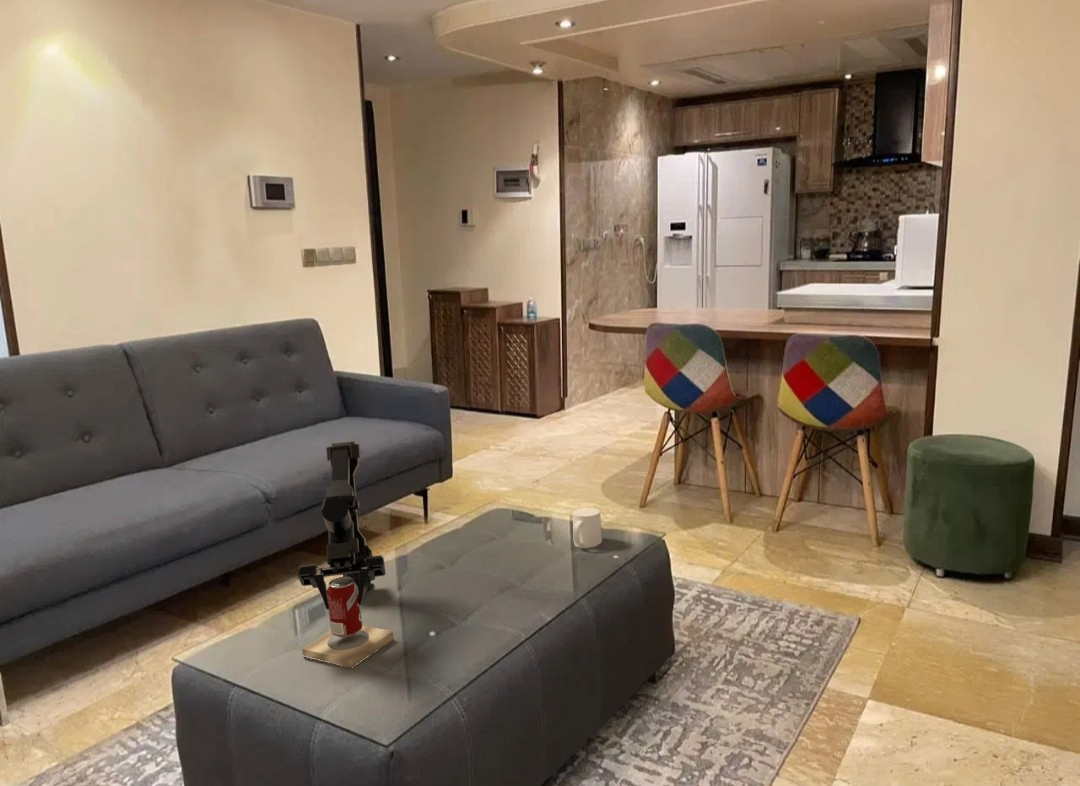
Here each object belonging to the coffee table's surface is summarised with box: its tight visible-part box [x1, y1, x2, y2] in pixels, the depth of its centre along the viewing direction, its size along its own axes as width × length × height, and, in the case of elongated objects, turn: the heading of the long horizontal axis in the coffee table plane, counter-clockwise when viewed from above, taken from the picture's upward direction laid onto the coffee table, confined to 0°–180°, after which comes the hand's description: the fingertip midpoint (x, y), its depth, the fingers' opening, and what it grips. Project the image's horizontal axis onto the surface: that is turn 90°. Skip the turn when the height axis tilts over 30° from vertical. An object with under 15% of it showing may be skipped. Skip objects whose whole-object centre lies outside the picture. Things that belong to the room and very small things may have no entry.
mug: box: [572, 507, 603, 549], centre depth 233 cm, size 12×9×8 cm
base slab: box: [301, 624, 395, 669], centre depth 179 cm, size 14×14×2 cm
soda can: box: [327, 576, 363, 638], centre depth 178 cm, size 7×7×12 cm
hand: (343, 606), depth 177 cm, fingers closed on soda can, 7 cm apart
